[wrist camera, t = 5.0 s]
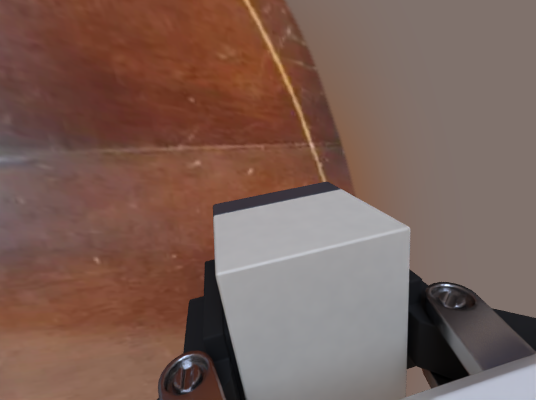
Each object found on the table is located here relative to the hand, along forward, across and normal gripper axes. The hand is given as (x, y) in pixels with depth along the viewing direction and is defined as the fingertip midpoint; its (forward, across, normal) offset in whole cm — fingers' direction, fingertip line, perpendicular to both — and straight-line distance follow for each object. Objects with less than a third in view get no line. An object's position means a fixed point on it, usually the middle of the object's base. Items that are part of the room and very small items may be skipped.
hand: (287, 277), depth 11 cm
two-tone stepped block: (+1, 0, +2) cm, 3 cm away
